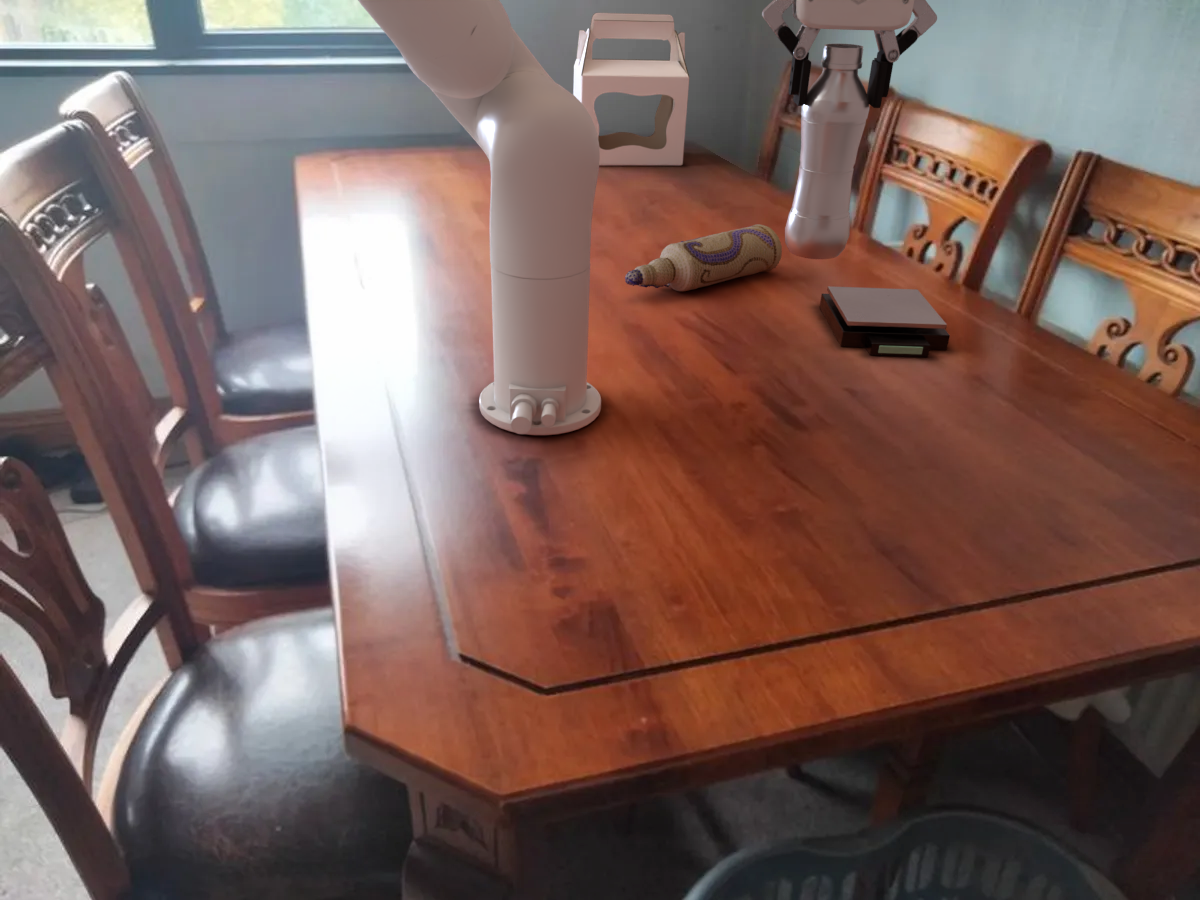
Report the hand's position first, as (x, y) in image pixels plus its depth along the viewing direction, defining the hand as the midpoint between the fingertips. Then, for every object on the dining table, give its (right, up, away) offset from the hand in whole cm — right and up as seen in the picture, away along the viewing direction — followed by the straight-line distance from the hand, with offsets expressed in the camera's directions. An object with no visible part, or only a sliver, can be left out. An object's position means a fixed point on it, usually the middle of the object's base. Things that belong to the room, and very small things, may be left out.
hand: (836, 102), depth 86 cm
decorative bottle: (-8, -9, +43) cm, 45 cm away
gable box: (-17, +29, +108) cm, 113 cm away
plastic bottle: (0, -13, +8) cm, 15 cm away
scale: (+14, -18, +29) cm, 37 cm away
